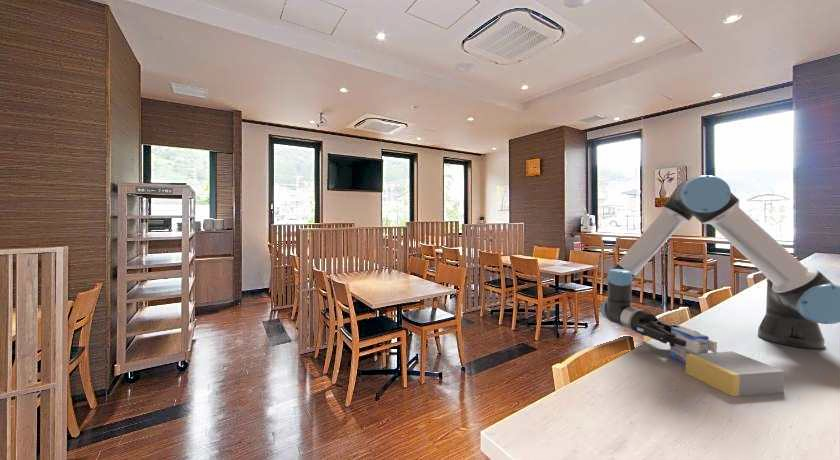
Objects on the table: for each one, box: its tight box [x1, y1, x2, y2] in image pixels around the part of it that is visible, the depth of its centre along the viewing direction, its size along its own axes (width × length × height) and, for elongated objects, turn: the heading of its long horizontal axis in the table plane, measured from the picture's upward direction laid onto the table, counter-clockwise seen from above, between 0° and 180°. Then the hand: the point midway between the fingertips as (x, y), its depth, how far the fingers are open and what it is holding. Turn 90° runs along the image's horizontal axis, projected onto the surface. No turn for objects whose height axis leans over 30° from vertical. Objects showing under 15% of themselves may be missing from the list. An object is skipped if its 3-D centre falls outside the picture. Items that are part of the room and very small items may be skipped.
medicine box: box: [669, 327, 710, 365], centre depth 98 cm, size 8×4×9 cm, turn 7°
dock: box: [685, 350, 786, 397], centre depth 87 cm, size 14×12×5 cm
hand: (706, 347), depth 93 cm, fingers closed on medicine box, 5 cm apart
